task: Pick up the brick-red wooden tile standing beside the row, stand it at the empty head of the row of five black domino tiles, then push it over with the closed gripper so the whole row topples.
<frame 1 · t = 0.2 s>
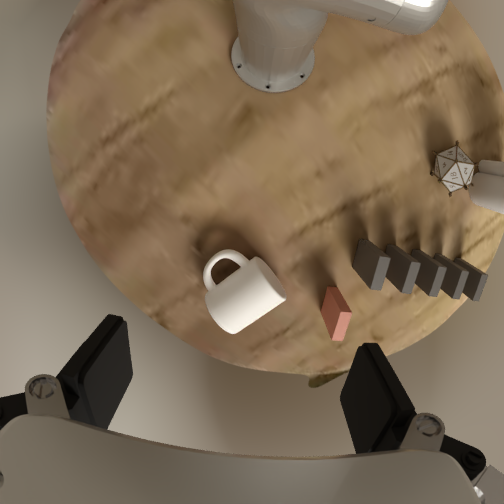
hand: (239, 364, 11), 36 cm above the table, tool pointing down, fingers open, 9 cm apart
vase: (484, 179, 43), on the table
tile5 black: (435, 266, 48), on the table
game die: (440, 167, 43), on the table
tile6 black: (454, 269, 48), on the table
tile3 black: (388, 258, 48), on the table
tile4 black: (413, 262, 48), on the table
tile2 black: (360, 253, 48), on the table
mug: (238, 276, 49), on the table
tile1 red: (328, 299, 50), on the table
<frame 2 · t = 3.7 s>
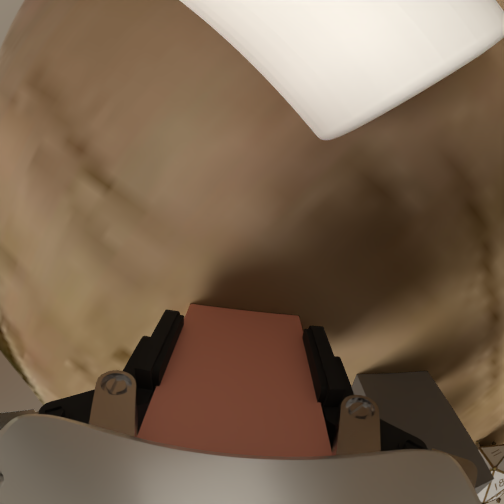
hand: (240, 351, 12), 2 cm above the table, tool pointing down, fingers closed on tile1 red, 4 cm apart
game die: (475, 449, 19), on the table
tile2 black: (389, 384, 15), on the table
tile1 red: (242, 326, 14), on the table, touching gripper
when the fingers open (3 cm above the table, at t = 8.9 s): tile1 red stays where it is, on the table.
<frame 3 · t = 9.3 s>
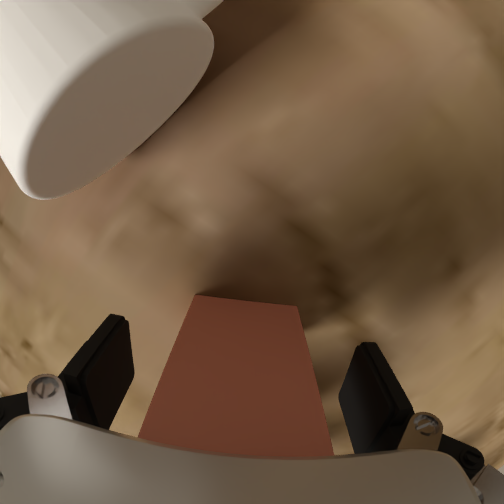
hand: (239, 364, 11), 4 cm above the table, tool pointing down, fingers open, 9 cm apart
mug: (133, 38, 11), on the table
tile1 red: (244, 316, 15), on the table
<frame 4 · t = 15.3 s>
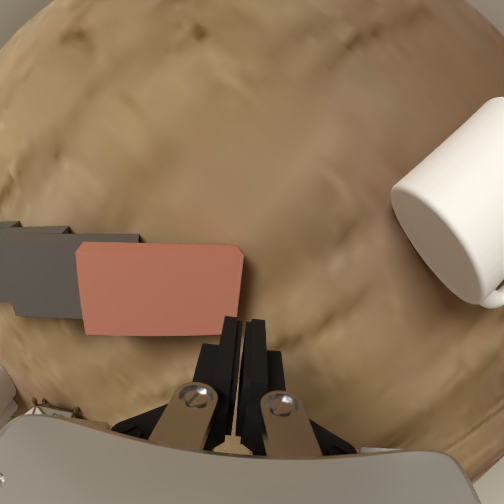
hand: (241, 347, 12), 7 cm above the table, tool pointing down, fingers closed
game die: (66, 411, 24), on the table
tile3 black: (68, 265, 17), point 1 cm above the table, tilted 70°, touching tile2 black, tile4 black
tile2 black: (138, 277, 17), point 1 cm above the table, tilted 70°, touching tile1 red, tile3 black
mug: (460, 209, 17), on the table
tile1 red: (235, 290, 18), point 1 cm above the table, tilted 72°, touching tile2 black
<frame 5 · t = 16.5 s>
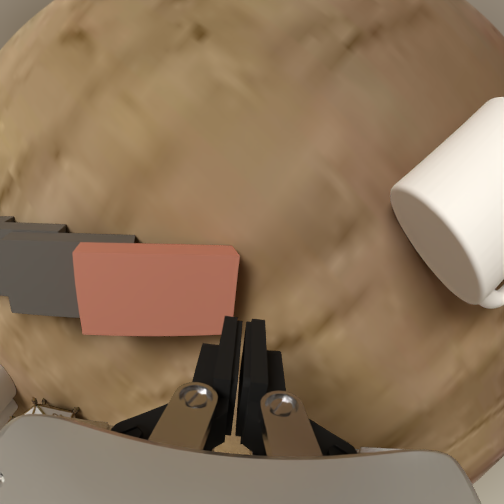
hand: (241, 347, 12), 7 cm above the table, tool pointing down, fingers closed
game die: (66, 411, 24), on the table
tile3 black: (63, 263, 17), point 1 cm above the table, tilted 72°, touching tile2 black
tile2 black: (134, 277, 17), point 1 cm above the table, tilted 71°, touching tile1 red, tile3 black
mug: (460, 209, 17), on the table
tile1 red: (231, 290, 18), point 1 cm above the table, tilted 72°, touching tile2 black
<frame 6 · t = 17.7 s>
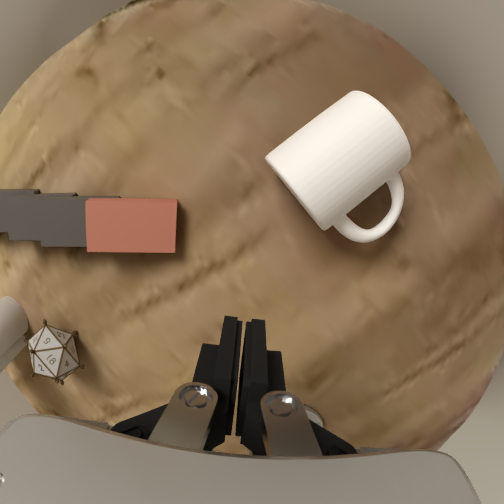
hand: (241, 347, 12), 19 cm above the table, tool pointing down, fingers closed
vase: (13, 324, 35), on the table
game die: (67, 337, 35), on the table
tile3 black: (74, 216, 28), point 1 cm above the table, tilted 72°, touching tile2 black
tile4 black: (36, 211, 28), point 1 cm above the table, tilted 72°, touching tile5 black
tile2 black: (118, 221, 29), point 1 cm above the table, tilted 72°, touching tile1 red, tile3 black
mug: (339, 174, 28), on the table
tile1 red: (175, 225, 29), point 1 cm above the table, tilted 73°, touching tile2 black
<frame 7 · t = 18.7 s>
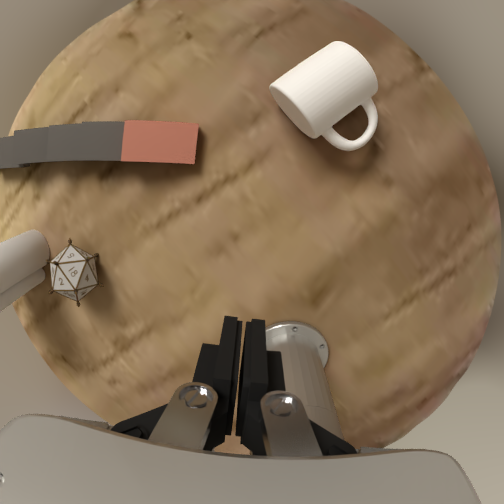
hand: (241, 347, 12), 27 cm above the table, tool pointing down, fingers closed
vase: (33, 259, 40), on the table
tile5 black: (27, 150, 33), point 2 cm above the table, tilted 90°, touching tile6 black
game die: (87, 263, 40), on the table
tile3 black: (108, 141, 34), point 1 cm above the table, tilted 73°, touching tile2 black, tile4 black
tile4 black: (67, 143, 34), point 1 cm above the table, tilted 67°, touching tile3 black
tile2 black: (147, 142, 34), point 1 cm above the table, tilted 73°, touching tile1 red, tile3 black
mug: (327, 107, 34), on the table
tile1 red: (195, 144, 34), point 1 cm above the table, tilted 73°, touching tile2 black
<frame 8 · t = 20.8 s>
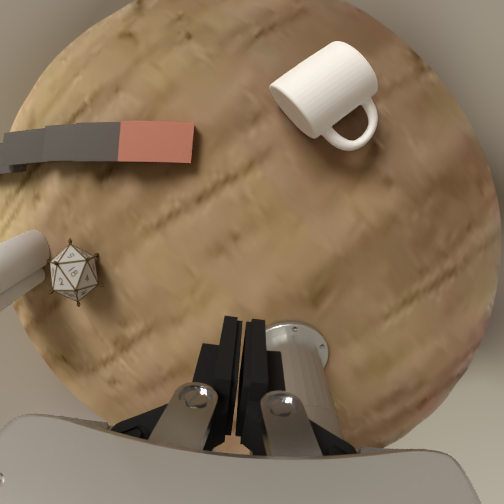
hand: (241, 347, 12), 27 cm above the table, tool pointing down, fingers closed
vase: (33, 259, 40), on the table
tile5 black: (16, 156, 33), point 2 cm above the table, tilted 90°, touching tile4 black, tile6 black
game die: (87, 263, 40), on the table
tile3 black: (101, 142, 34), point 1 cm above the table, tilted 78°, touching tile4 black
tile4 black: (54, 144, 34), point 1 cm above the table, tilted 67°, touching tile3 black, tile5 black
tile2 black: (141, 142, 34), point 1 cm above the table, tilted 73°, touching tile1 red
mug: (327, 107, 34), on the table
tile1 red: (192, 143, 34), point 1 cm above the table, tilted 74°, touching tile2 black
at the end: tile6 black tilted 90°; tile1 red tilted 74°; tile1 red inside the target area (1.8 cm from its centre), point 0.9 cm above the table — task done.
